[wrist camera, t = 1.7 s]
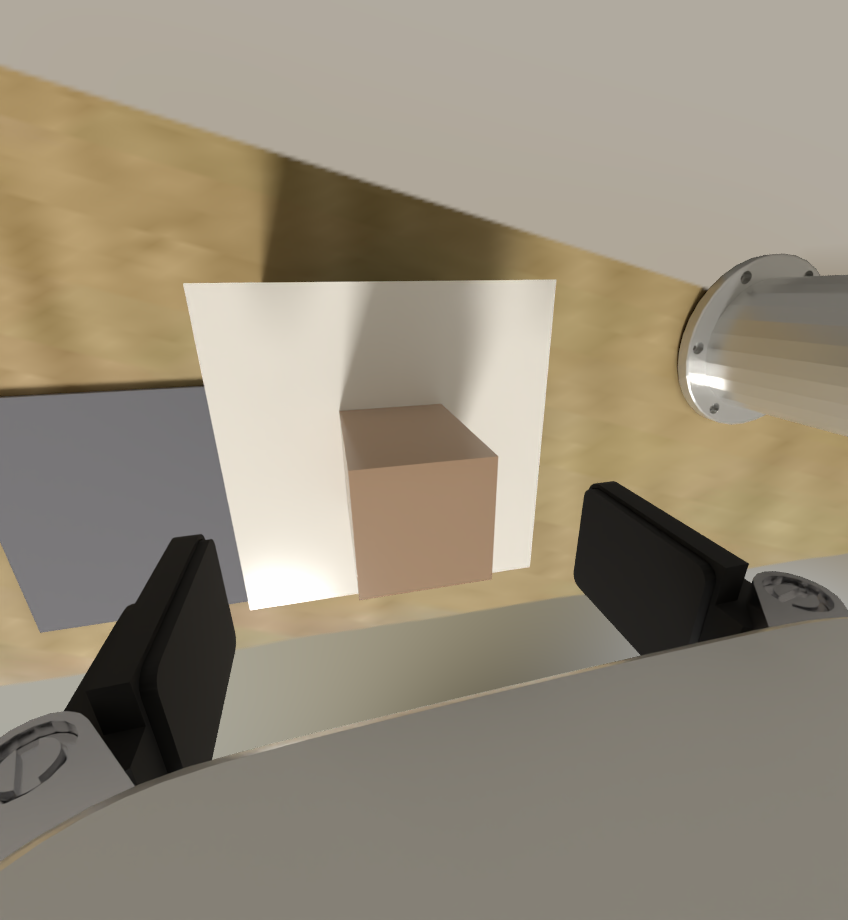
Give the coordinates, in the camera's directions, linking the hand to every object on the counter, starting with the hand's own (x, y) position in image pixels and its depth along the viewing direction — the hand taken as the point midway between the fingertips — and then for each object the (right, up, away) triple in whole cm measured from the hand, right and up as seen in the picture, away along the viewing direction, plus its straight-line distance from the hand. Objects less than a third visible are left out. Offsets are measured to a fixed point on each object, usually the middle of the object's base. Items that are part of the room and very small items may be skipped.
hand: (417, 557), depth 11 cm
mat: (-18, -1, +17) cm, 25 cm away
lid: (-1, +3, +8) cm, 8 cm away
